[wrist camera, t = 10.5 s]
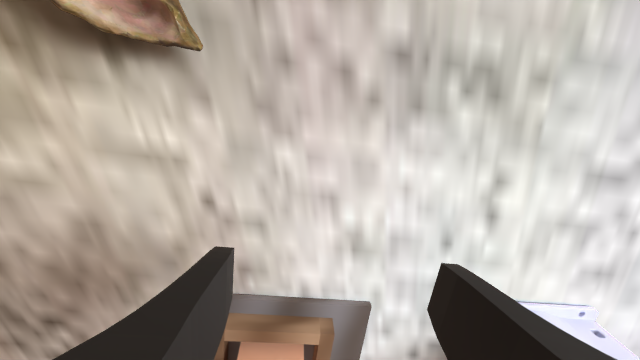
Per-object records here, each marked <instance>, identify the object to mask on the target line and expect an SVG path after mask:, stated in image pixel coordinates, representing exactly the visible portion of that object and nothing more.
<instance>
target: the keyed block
mask: <svg viewBox="0 0 640 360" xmlns="http://www.w3.org/2000/svg"><path fill="white" fill-rule="evenodd" d="M237 360H304V344H285V343H261V342H241V344H240V348H239V353H238V357H237Z"/></svg>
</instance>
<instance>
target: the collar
mask: <svg viewBox="0 0 640 360" xmlns="http://www.w3.org/2000/svg"><path fill="white" fill-rule="evenodd" d="M370 311H371V304H370V302H364V301H347V300H330V299H313V298H296V297H278V296H261V295H244V294H232V301H231V306H230V310H229V314H228V319H227V323H226V327H225V330H224V333H223V336H222V339H221V341H220V344H219V347H218V350H217V353H216V355H215V358H214V360H237V357H238V353H239V348H240V344H241V342H261V343H285V344H304V360H359V358H360V354H361V350H362V345H363V341H364V337H365V332H366V328H367V324H368V319H369V315H370Z"/></svg>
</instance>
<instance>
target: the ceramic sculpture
mask: <svg viewBox="0 0 640 360" xmlns="http://www.w3.org/2000/svg"><path fill="white" fill-rule="evenodd" d="M50 1H52V2H53V3H54V4H55V5H56V6H57V7H58V8H59V9H60V10H62V11H65V12H67V13H70V14H73V15H76V16H78V17H80V18H82V19H84V20H85V21H87V22H89V23H90V24H92V25H93V26H94V27H96V28H97V29H99V30H101V31H103V32H107V33H112V34H117V35H122V36H126V37H129V38H132V39H136V40H141V41H145V42H150V43H154V44H159V45H164V46H177V47H181V48H185V49H190V50H196V51H201V50H202V47H203V45H202V43H201V41H200V39H199V37H198V36H197V34H196V33H195V31H194V30H193V28H192V27H191V26H190V24H189V22H188V20H187V17H186V15H185V13H184V11H183V9H182V7H181V5H180V3H179V1H178V0H50Z"/></svg>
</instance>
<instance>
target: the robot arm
mask: <svg viewBox="0 0 640 360" xmlns="http://www.w3.org/2000/svg"><path fill="white" fill-rule="evenodd" d="M233 266H234V248H229V247H214V248H213V249H211V250H210V251H209V252H208V253H207V254H206V255H205V256H204V257H202V258H201V259H200V260H199V261H198V262H197V263H196V264H195V265H193V266H192V267H191V268H190V269H189V270H188V271H186V272H185V273H184V274H183V275H182V276H180V277H179V278H178V279H177V280H176V281H174V282H173V283H172V284H171V285H170V286H168V287H167V288H166V289H164V290H163V291H162V292H160V293H159V294H158V295H156V296H155V297H154V298H152V299H151V300H150V301H148V302H147V303H146V304H144V305H143V306H142V307H140V308H139V309H137V310H136V311H134V312H133V313H131V314H130V315H129V316H127V317H125V318H124V319H122V320H121V321H119V322H117V323H116V324H114V325H113V326H111V327H110V328H108V329H106V330H105V331H103V332H101V333H100V334H98V335H96V336H94V337H93V338H91V339H89V340H87V341H85V342H84V343H82V344H80V345H78V346H76V347H75V348H73V349H71V350H69V351H68V352H66V353H64V354H62V355H60V356H59V357H57V358H55V359H53V360H214V358H215V355H216V353H217V350H218V347H219V344H220V341H221V339H222V336H223V333H224V330H225V327H226V323H227V319H228V314H229V310H230V306H231V301H232V291H233ZM427 310H428V313H429V316H430V319H431V322H432V325H433V328H434V331H435V333H436V336H437V339H438V341H439V343H440V345H441V347H442V349H443V351H444V353H445V355H446V357H447V359H448V360H640V358H639V357H637V356H636V355H635V354H634V353H633V352H631V351H630V350H629V349H628V348H627V347H625V346H624V345H623V344H622V343H621V342H619V341H618V340H617V339H616V338H615V337H613V336H612V335H611V334H610V333H609V332H608V331H606V330H605V329H604V328H603V327H602V326H600V325H599V324H598V323H597V322H596V321H595V320H596V318H597V316H598V314H599V312H598V310H596V309H595V308H594V307H588V306H571V305H555V304H539V303H522V302H516V301H515V300H513V299H512V298H510V297H509V296H507V295H506V294H504V293H503V292H501V291H500V290H498V289H497V288H495V287H494V286H492V285H491V284H489V283H487V282H486V281H484V280H483V279H481V278H480V277H478V276H477V275H475V274H474V273H472V272H470V271H469V270H467V269H465V268H464V267H462V266H460V265H458V264H445V263H441V266H440V269H439V273H438V276H437V279H436V282H435V286H434V289H433V292H432V295H431V299H430V302H429V305H428V308H427Z"/></svg>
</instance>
